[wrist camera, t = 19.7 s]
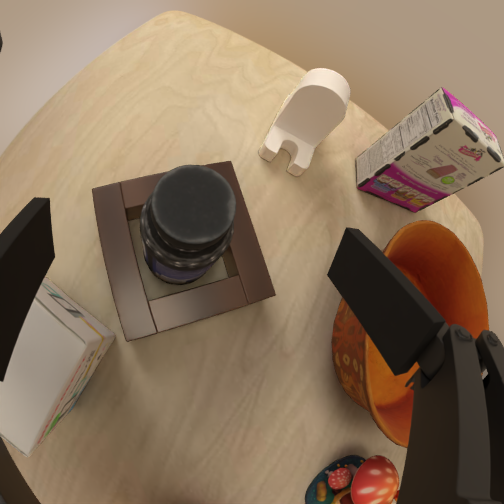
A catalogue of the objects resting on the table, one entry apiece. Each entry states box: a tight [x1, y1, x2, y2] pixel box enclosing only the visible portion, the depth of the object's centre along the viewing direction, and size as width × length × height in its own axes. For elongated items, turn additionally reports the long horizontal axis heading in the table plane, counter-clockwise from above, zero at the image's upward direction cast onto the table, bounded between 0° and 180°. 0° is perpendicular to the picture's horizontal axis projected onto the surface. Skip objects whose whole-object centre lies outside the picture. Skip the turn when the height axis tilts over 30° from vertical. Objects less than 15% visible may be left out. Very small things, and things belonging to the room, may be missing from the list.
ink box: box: [0, 277, 116, 457], centre depth 15 cm, size 8×8×12 cm
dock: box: [92, 161, 276, 342], centre depth 24 cm, size 12×12×3 cm
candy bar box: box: [356, 87, 504, 213], centre depth 29 cm, size 11×5×16 cm, turn 82°
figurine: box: [305, 455, 399, 504], centre depth 21 cm, size 12×9×8 cm
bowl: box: [332, 220, 489, 448], centre depth 26 cm, size 21×21×10 cm
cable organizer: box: [258, 68, 350, 176], centre depth 28 cm, size 5×10×10 cm, turn 158°
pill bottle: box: [140, 165, 236, 285], centre depth 21 cm, size 6×6×11 cm
